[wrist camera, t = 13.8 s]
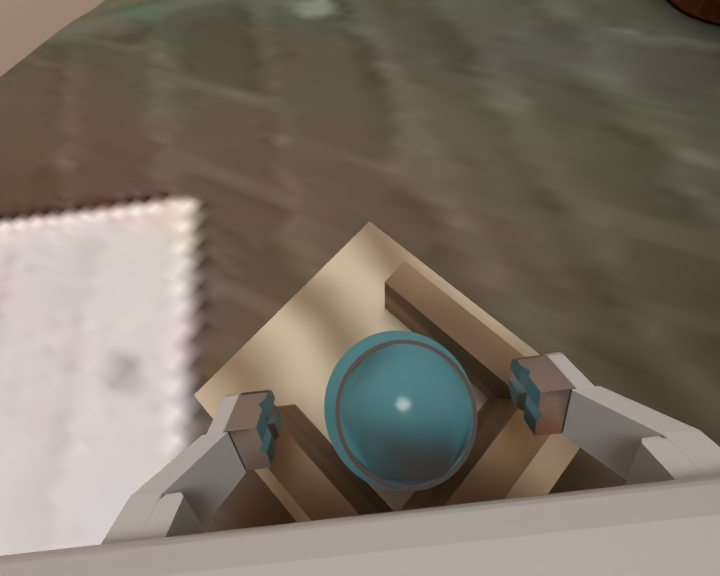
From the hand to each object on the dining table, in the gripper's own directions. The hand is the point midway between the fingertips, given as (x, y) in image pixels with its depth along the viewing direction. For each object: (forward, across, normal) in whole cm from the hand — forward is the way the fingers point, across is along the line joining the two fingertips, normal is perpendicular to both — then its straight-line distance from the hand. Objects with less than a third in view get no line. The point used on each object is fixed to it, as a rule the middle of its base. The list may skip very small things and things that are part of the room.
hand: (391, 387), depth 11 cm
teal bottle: (+6, 0, +6) cm, 8 cm away
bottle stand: (+6, 0, +7) cm, 9 cm away
